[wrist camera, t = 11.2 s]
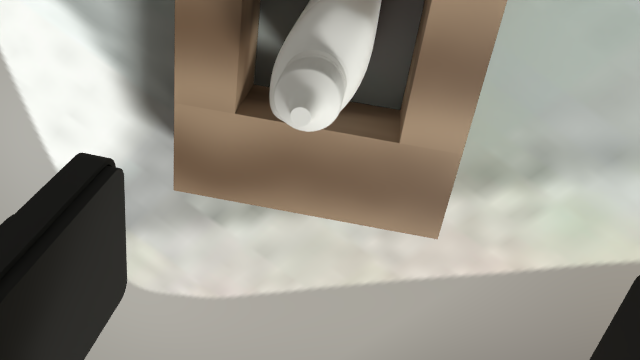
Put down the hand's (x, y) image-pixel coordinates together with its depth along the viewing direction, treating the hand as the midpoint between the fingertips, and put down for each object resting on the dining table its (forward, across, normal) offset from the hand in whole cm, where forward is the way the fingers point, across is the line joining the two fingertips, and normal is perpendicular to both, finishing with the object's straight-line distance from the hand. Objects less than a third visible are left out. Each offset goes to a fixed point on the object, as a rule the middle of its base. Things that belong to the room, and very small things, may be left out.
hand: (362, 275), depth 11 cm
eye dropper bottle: (+21, +2, +2) cm, 21 cm away
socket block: (+21, +2, +2) cm, 21 cm away
